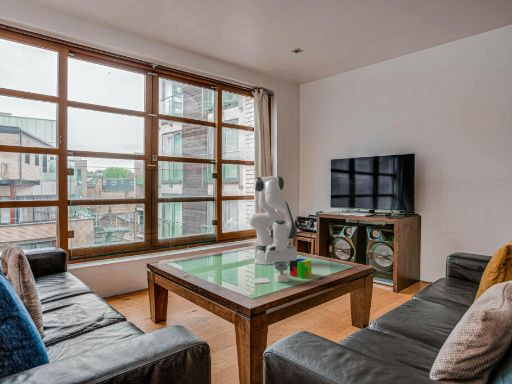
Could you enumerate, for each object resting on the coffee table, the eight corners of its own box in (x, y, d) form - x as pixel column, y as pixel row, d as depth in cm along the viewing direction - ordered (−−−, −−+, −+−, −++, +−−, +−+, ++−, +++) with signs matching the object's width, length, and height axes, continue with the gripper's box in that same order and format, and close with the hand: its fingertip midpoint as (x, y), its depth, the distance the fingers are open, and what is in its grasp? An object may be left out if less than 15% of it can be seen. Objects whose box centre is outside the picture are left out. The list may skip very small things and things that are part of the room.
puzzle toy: (300, 272, 226) (299, 258, 226) (311, 275, 218) (311, 260, 218) (290, 275, 219) (289, 260, 219) (301, 278, 212) (301, 263, 212)
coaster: (251, 279, 212) (251, 278, 212) (266, 278, 214) (266, 277, 214) (254, 284, 203) (254, 283, 203) (270, 282, 205) (270, 281, 204)
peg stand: (274, 279, 212) (274, 266, 212) (285, 278, 213) (285, 266, 213) (277, 282, 205) (277, 269, 205) (288, 281, 206) (288, 268, 206)
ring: (275, 268, 212) (275, 264, 212) (284, 267, 213) (284, 263, 213) (277, 270, 206) (277, 266, 206) (287, 269, 207) (287, 265, 207)
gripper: (294, 244, 214) (295, 265, 214) (263, 246, 210) (264, 268, 210) (298, 246, 208) (298, 268, 208) (266, 248, 204) (266, 270, 204)
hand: (281, 268), depth 209 cm, fingers closed on ring, 6 cm apart
